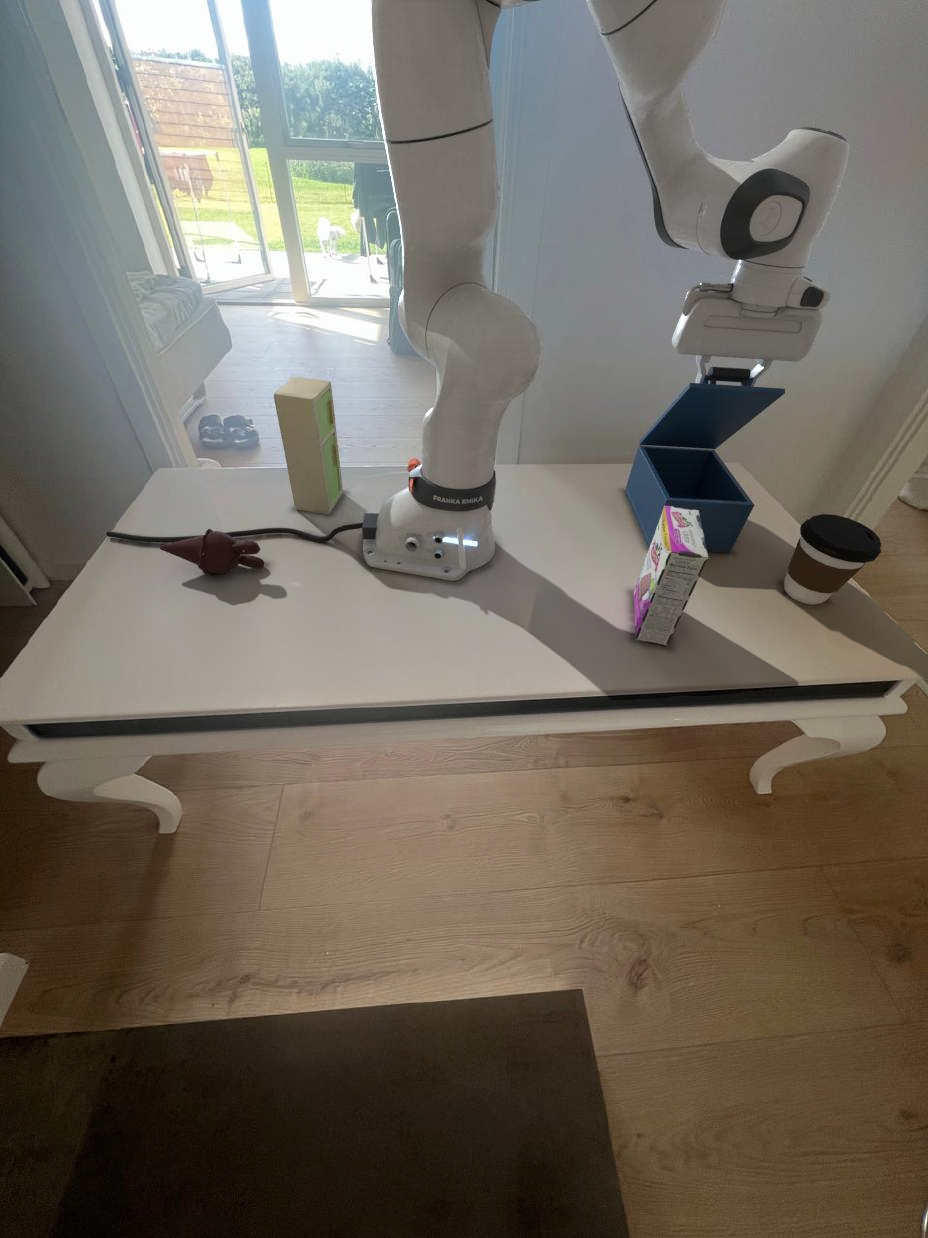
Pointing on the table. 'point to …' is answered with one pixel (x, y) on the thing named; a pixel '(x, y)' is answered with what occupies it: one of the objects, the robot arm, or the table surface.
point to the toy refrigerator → (310, 443)
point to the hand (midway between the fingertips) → (723, 385)
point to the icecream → (216, 552)
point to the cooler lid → (711, 411)
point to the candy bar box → (669, 574)
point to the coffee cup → (828, 557)
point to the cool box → (688, 492)
